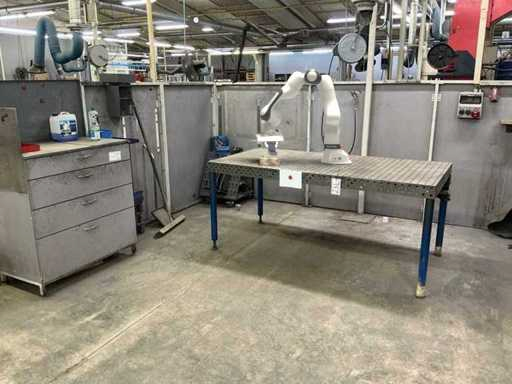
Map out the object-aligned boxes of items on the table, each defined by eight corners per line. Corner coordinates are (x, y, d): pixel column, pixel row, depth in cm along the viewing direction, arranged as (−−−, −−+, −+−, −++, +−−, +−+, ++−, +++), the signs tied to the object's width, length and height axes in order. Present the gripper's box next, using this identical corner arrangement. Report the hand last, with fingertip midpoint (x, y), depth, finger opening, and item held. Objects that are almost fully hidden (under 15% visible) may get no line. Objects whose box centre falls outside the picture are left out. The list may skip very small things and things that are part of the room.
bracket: (274, 153, 294) (274, 141, 292) (277, 155, 286) (277, 143, 284) (267, 154, 293) (267, 141, 290) (270, 155, 285) (270, 143, 283)
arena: (279, 162, 296) (280, 155, 295) (279, 165, 283) (279, 158, 281) (261, 162, 297) (261, 155, 296) (259, 165, 284) (259, 158, 283)
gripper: (255, 130, 292) (258, 145, 285) (282, 130, 296) (286, 144, 290) (254, 135, 297) (257, 150, 290) (280, 135, 302) (284, 150, 295)
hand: (271, 147), depth 290 cm, fingers closed on bracket, 5 cm apart
